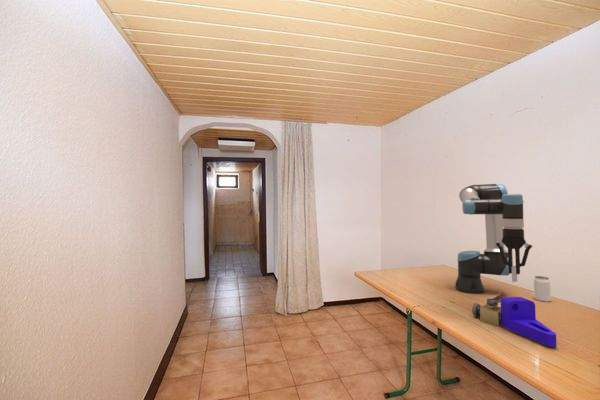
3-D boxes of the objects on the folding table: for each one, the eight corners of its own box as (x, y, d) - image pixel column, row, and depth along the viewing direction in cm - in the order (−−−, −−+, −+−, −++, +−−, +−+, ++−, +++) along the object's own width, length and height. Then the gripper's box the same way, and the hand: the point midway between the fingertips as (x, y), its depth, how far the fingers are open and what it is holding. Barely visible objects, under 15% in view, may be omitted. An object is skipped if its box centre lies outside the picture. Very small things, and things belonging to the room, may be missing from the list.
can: (553, 302, 142) (553, 279, 142) (539, 301, 143) (538, 278, 143) (545, 298, 148) (544, 276, 148) (531, 297, 149) (531, 275, 150)
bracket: (501, 325, 115) (500, 297, 115) (526, 324, 115) (525, 296, 115) (539, 347, 97) (538, 314, 97) (569, 346, 97) (568, 313, 97)
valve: (471, 318, 124) (471, 302, 124) (478, 314, 127) (478, 298, 128) (508, 329, 112) (507, 311, 112) (515, 325, 116) (514, 308, 116)
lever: (495, 306, 117) (495, 302, 117) (485, 303, 120) (485, 299, 120) (509, 299, 126) (509, 295, 126) (499, 297, 129) (499, 293, 129)
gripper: (533, 228, 119) (535, 282, 118) (497, 227, 128) (498, 277, 128) (530, 229, 114) (532, 285, 113) (493, 228, 123) (495, 280, 122)
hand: (514, 281), depth 120 cm, fingers closed
